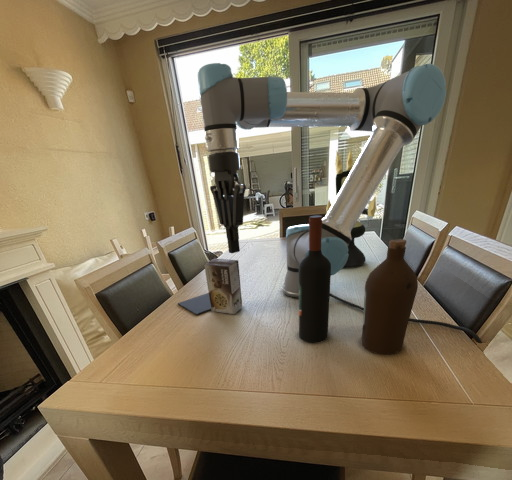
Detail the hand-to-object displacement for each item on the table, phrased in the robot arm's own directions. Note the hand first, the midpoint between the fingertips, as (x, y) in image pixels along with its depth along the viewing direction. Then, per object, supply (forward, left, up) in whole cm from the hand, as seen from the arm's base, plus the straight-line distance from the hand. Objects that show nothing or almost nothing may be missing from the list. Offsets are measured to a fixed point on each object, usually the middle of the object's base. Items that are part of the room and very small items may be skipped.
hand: (234, 251), depth 82 cm
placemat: (+20, +1, -21) cm, 29 cm away
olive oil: (-39, -14, -21) cm, 46 cm away
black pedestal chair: (+11, -67, -21) cm, 71 cm away
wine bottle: (-24, -6, -21) cm, 32 cm away
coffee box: (+9, 0, -20) cm, 22 cm away
